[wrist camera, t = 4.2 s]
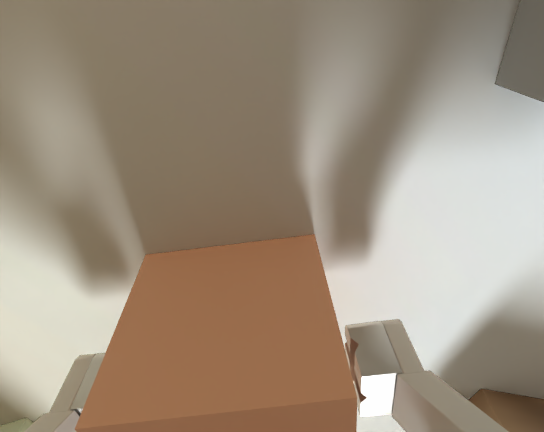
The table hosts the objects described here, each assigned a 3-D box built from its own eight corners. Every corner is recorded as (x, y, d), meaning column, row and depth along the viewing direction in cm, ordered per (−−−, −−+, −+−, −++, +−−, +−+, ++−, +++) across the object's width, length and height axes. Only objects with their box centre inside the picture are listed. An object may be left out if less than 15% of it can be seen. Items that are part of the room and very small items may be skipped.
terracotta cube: (314, 233, 10) (357, 397, 6) (320, 342, 13) (353, 509, 9) (146, 253, 10) (74, 428, 6) (186, 357, 13) (156, 530, 9)
